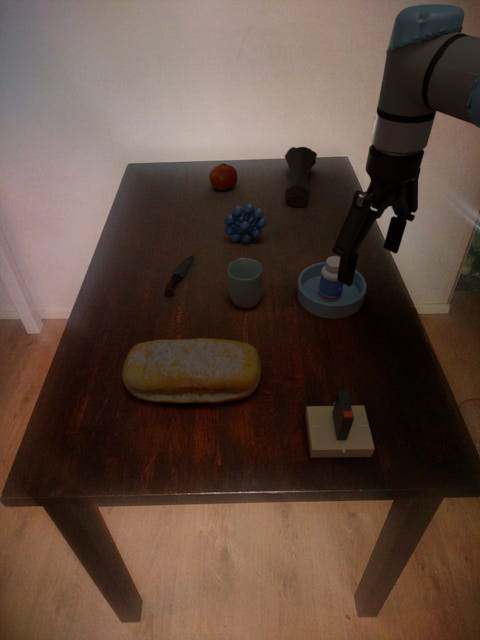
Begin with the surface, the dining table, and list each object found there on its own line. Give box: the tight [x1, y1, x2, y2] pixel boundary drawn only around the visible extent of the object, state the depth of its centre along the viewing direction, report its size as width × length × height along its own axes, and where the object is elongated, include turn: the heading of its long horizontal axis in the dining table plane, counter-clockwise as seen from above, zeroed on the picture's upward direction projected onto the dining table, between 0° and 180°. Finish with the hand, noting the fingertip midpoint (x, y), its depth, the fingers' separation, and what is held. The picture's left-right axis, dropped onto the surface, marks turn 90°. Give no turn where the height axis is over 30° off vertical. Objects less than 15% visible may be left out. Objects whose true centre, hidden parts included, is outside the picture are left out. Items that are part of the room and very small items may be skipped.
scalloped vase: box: [284, 146, 318, 208], centre depth 125 cm, size 11×10×28 cm
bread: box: [121, 337, 262, 405], centre depth 73 cm, size 13×26×8 cm, turn 90°
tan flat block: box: [304, 401, 375, 459], centre depth 65 cm, size 10×9×3 cm
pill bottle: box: [318, 255, 344, 302], centre depth 87 cm, size 6×5×10 cm
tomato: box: [209, 162, 238, 191], centre depth 127 cm, size 9×9×8 cm
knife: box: [163, 255, 194, 298], centre depth 98 cm, size 17×2×5 cm
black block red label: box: [332, 390, 354, 440], centre depth 61 cm, size 5×2×7 cm, turn 0°
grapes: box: [224, 202, 268, 244], centre depth 104 cm, size 12×7×12 cm, turn 84°
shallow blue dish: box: [296, 261, 368, 320], centre depth 89 cm, size 15×16×4 cm
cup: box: [226, 257, 264, 309], centre depth 87 cm, size 8×8×10 cm
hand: (368, 265), depth 69 cm, fingers open, 13 cm apart
